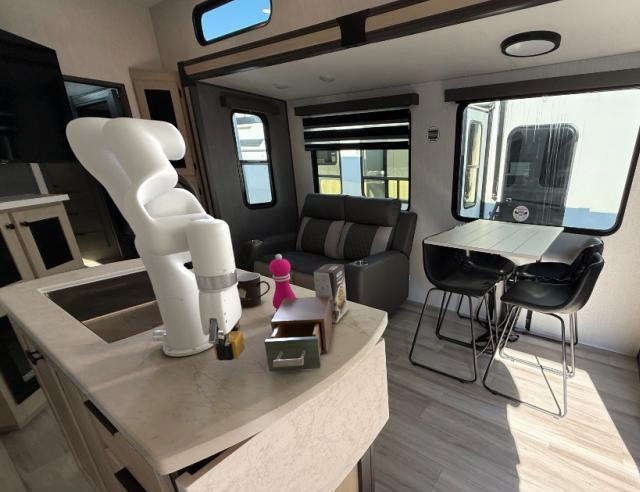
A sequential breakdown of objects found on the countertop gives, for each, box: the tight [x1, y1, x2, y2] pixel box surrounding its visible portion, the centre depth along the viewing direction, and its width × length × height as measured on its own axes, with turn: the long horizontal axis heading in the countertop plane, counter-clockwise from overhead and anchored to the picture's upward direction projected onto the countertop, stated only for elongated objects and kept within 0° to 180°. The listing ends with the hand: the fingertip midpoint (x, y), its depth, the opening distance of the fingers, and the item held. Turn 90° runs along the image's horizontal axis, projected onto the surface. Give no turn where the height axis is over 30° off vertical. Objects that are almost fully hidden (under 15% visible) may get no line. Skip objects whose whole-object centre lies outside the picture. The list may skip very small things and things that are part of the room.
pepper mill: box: [269, 253, 297, 313], centre depth 98 cm, size 7×7×20 cm
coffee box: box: [313, 263, 348, 324], centre depth 98 cm, size 9×6×16 cm
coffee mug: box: [237, 272, 271, 309], centre depth 107 cm, size 12×9×10 cm
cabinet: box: [270, 296, 333, 354], centre depth 85 cm, size 15×13×10 cm
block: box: [213, 330, 246, 360], centre depth 73 cm, size 5×5×5 cm
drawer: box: [263, 322, 323, 373], centre depth 75 cm, size 18×11×8 cm, turn 6°
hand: (230, 351), depth 73 cm, fingers closed on block, 4 cm apart
